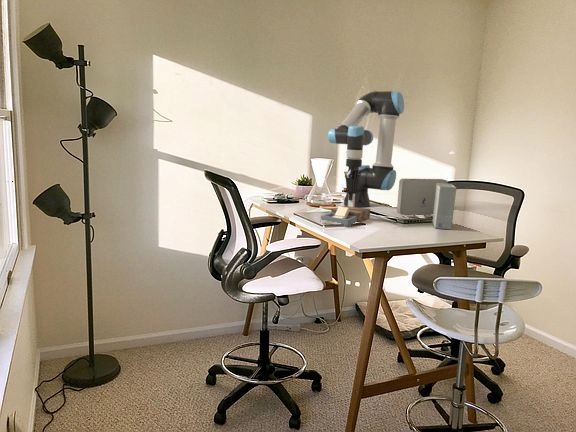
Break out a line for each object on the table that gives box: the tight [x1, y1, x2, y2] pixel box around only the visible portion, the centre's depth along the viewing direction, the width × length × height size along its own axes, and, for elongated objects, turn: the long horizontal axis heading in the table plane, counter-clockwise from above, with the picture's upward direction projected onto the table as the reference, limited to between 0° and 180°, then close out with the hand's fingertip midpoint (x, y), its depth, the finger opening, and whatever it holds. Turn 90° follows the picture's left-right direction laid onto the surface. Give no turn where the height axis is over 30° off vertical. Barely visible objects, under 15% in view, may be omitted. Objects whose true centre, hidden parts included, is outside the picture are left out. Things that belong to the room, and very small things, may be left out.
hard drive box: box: [431, 183, 457, 230], centre depth 223 cm, size 16×8×20 cm, turn 168°
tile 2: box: [335, 206, 349, 219], centre depth 223 cm, size 5×5×2 cm
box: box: [320, 212, 357, 228], centre depth 220 cm, size 10×14×4 cm
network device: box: [396, 178, 449, 217], centre depth 242 cm, size 26×9×20 cm, turn 104°
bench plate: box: [330, 205, 371, 223], centre depth 231 cm, size 15×14×5 cm
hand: (351, 206), depth 230 cm, fingers closed
